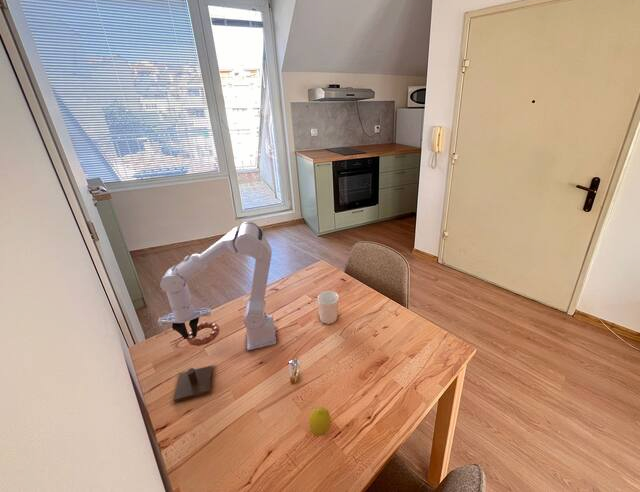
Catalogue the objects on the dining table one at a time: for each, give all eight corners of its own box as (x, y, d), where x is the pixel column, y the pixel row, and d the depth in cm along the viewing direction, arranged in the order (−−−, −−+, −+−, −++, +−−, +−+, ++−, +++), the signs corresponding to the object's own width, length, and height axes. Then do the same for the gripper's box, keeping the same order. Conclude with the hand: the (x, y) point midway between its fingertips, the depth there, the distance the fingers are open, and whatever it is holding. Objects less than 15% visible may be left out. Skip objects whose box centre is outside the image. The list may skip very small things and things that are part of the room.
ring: (297, 390, 87) (295, 372, 84) (287, 389, 87) (285, 370, 84) (304, 370, 93) (302, 352, 90) (294, 369, 94) (292, 351, 90)
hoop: (220, 322, 104) (219, 318, 103) (218, 342, 96) (217, 338, 95) (190, 328, 101) (189, 324, 100) (185, 350, 93) (184, 345, 92)
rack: (212, 367, 93) (209, 354, 91) (209, 393, 86) (205, 379, 83) (180, 375, 90) (176, 362, 88) (174, 402, 83) (169, 389, 80)
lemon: (310, 420, 79) (309, 401, 76) (331, 419, 80) (330, 400, 76) (309, 443, 74) (307, 423, 71) (331, 441, 75) (330, 422, 71)
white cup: (342, 315, 116) (342, 295, 112) (330, 328, 110) (329, 307, 106) (326, 308, 120) (326, 288, 116) (314, 319, 114) (313, 299, 110)
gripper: (208, 291, 97) (216, 322, 102) (157, 299, 92) (168, 332, 98) (206, 304, 91) (214, 337, 96) (151, 315, 86) (163, 348, 92)
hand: (191, 335), depth 97 cm, fingers closed on hoop, 2 cm apart
